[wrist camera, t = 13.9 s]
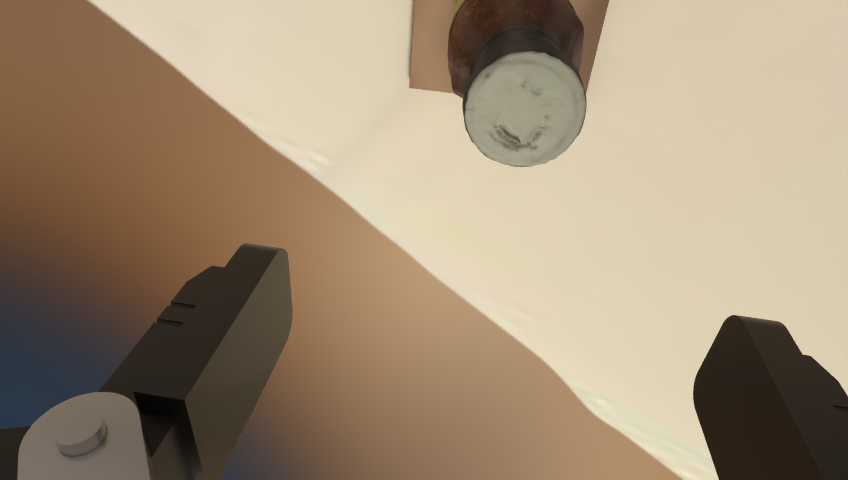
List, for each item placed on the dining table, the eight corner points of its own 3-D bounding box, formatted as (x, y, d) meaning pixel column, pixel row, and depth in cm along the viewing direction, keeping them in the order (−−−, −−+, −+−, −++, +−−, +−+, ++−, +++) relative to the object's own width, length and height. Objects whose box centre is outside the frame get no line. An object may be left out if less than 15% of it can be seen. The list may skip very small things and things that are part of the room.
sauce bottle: (484, 73, 37) (464, 230, 21) (441, -16, 34) (378, 83, 18) (578, 26, 35) (641, 162, 18) (539, -74, 32) (572, -21, 15)
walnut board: (629, -98, 31) (633, -97, 31) (580, 103, 38) (582, 108, 37) (424, -117, 32) (421, -117, 31) (411, 83, 39) (409, 87, 38)
